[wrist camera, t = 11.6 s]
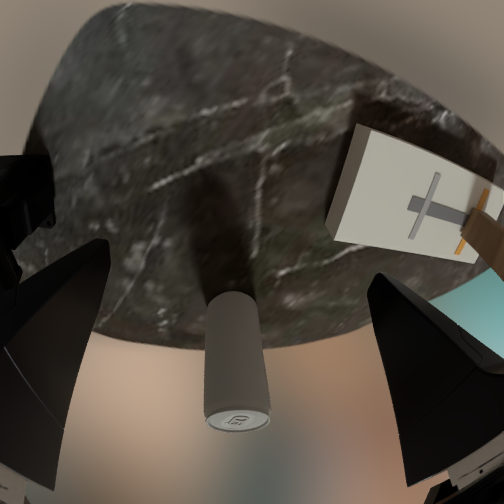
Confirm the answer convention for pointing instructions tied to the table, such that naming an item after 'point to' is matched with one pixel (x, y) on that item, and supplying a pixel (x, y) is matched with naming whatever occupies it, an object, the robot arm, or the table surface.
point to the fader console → (407, 198)
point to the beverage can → (234, 366)
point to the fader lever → (486, 239)
